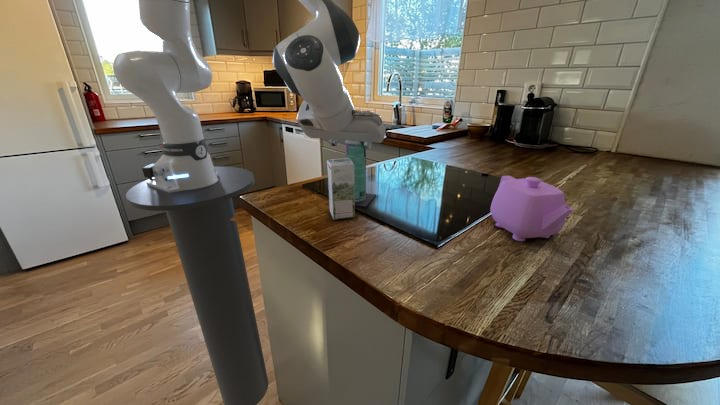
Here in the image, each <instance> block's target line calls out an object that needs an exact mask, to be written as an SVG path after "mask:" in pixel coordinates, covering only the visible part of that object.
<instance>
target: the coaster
mask: <svg viewBox="0 0 720 405" xmlns="http://www.w3.org/2000/svg"><path fill="white" fill-rule="evenodd" d="M376 197H377V195H376V194H374V193H366V199H365V200H364V201H361V202H355V208H357V207H358V208H364V209H367V207H368V206H369V205H370V204H371V203H372V201H374V199H375V198H376Z"/></svg>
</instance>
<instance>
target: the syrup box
mask: <svg viewBox="0 0 720 405" xmlns="http://www.w3.org/2000/svg"><path fill="white" fill-rule="evenodd" d="M326 166H327V168H326V171H327V188H328V206H329V209H328V210H329V213H330V215H331V217H332V220H333V221H337V220H344V219H353V218H355V217H356V206H355V191H354V164H353V162H352V161H351V160H350V159H349V158H346V157H344V158H332V159H331V158H330V159H326Z"/></svg>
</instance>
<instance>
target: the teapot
mask: <svg viewBox="0 0 720 405" xmlns="http://www.w3.org/2000/svg"><path fill="white" fill-rule="evenodd" d="M489 211H490V214H491V217H492V219H493V220H494V221H495V222H496V223H495V227H498V228H500V229H504V230H506V231H508V232H510V233H511V234H512V239H513V240H514V241H517V242H525V241H526V239H532V238H544V239H549V238H551V236H555V235H557V234H558V233H559V232H561V231H562V230H563V229H564V226H565V222H566V219H567V217H568V216H569V215H570V214H571V213H572V212H573V211H574V209H573V208H572V207H571V206H569V205H567V204H566V196H565V193H564V191H563V190H562V189H559V188H558V187H556V186H554V185H552V184H549V183H547V182H544V181H542V179H541V178H539V177H536V176H527V177H525V178H515V177H513V176H511V175H510V174H509V175H502V176H501V178H500V182H499V185H498V187H497V190H496V192H495V194H494V196H493V198H492V201H491V204H490V209H489Z"/></svg>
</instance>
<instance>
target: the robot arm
mask: <svg viewBox="0 0 720 405" xmlns="http://www.w3.org/2000/svg"><path fill="white" fill-rule="evenodd" d="M298 2H299V3H300V4H301V5H302V6H303V7H304V8H305V9H306V10H307V11H308V13H310V14H311V16H312V17H313V18H314V19H313V20H311V21H310V22H309V23H307V24H306V25H304V26H303V27H301V28H300V29H298V30H297V31H296V32H293V33H292V34H290V35H288V36H287V37H285V38H284V39H282V40H281V41H279V43H278V44H276V45H275V46H274V49H273V52H272V65H273V68H274V69H275V71H276V72H277V74H278V75H279V77H280V78H281V79H282V80H283V82H284V84H285V86H286V88H287V89H288V91H289V92H290V93H292V94H294V95H296V96H299V97H301V98H302V99H303V100H302V102H301V104H300V106H299V109H298V111H297V115H296V123H297V124H298V125H299V127H300V129H301V131H302V132H303V134H305V137H308V138H310V139H320V140H323V141H324V142H326V143H327V144H329V145H330V147H337V146H338V143H339V141H346V140H347V141H361V142H365V143H364V145H363V146H364V148H365V149H366V150H371V148H372V145H373V144H372V143H377V144H381V143H382V142H383V141H384V139H385V136H386V131H387V130H386V126H385V124H384V122H383V119H382V116H381V115H380V114H379V113H377V112H374V111H372V110H357V109H355V106H354V103H353V101H352V99H351V96H350V94H349V91H348V89H347V88H346V87H345V86H344V79H343V76H342V73H341V72H340V69H339V66H342V65H345V64H347V63H348V62H350V61H351V60H354V59H355V58H356V56H357V53H358V51H359V47H360V43H361V36H360V32H359V29H358V28H357V27H358V26H357V25H356V23H355V22H354V21H353V19H352V18H351V16H350V15H349V14H348V13H347V12H346V11H345V10H344V9H343V8H341V7H340V6H339V5H337V4H336V3H335V2H334V1H333V0H298ZM138 9H139V10H138V11H139V19H140V22H141V23H142V25H143V27H144V28H145V29H146V30H147V31H148V32H149V33H151V34H152V35H153V36H155V37H156V38H158V39H160V42H161V46H162V51H155V50H154V51H153V50H133V51H127V52H120V53H118V54H117V55H116V56H115V58H114V60H113V64H112V70H113V74H114V77H115V79H116V81H117V82H118V84H119V85H120V86H121V87H122V88H123V89H125V90H126V91H127V92H129V93H131V94H132V95H134V96H136V97H138V98H139V99H140V100H141V101H142V102H143V103H145V104H146V106H147V107H148V108H149V109H150V111H151V112H152V113H153V115H154V117H155V119H156V122H157V125H158V128H159V130H160V134H161V137H162V141H163V142H162V143H159V144H158V146H159V147H158V148H159V149H162V150H161V151H162V155H161V156H160V157H159V158H158V159H157V161H156V162H155V163H150V164H146V165H145V166H143V167H141V170H142V174H143V177H144V178H147V180H148V179H150V180H149V181H147V185H148V186H151V187H154V188H157V189H160V190H163V191H166V192H169V193H173V192H178V191H184V190H193V189H199V188H203V187H207V186H210V185H212V184H214V183H216V182H217V181H218V177H217V176H218V173H217V172H215V169H214V167H215V166H214V163H213V159H212V157H211V155H210V153H209V152H208V149H209V148H208V147H209V146H208V142H207V139H206V138H205V136H204V133H203V128H202V123H201V119H200V115H199V114H198V113H197V111H195V109H192V108H190V107H189V106H186V105H184V104H183V103H182V102H181V101H180V99H179V97H178V95H177V94H184V93H196V92H199V91H203V90H206V89H208V88H209V87H210V86H211V84H212V81H213V70H212V68H211V66H210V64H209V63H208V61H207V60H206V59H205V58H204V57H203V56H202V55H201V54H200V53H199V51H198V49H197V47H196V46H195V42H194V41H193V35H192V28H191V1H190V0H138ZM153 177H154V178H153ZM152 178H153V179H152Z"/></svg>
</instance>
